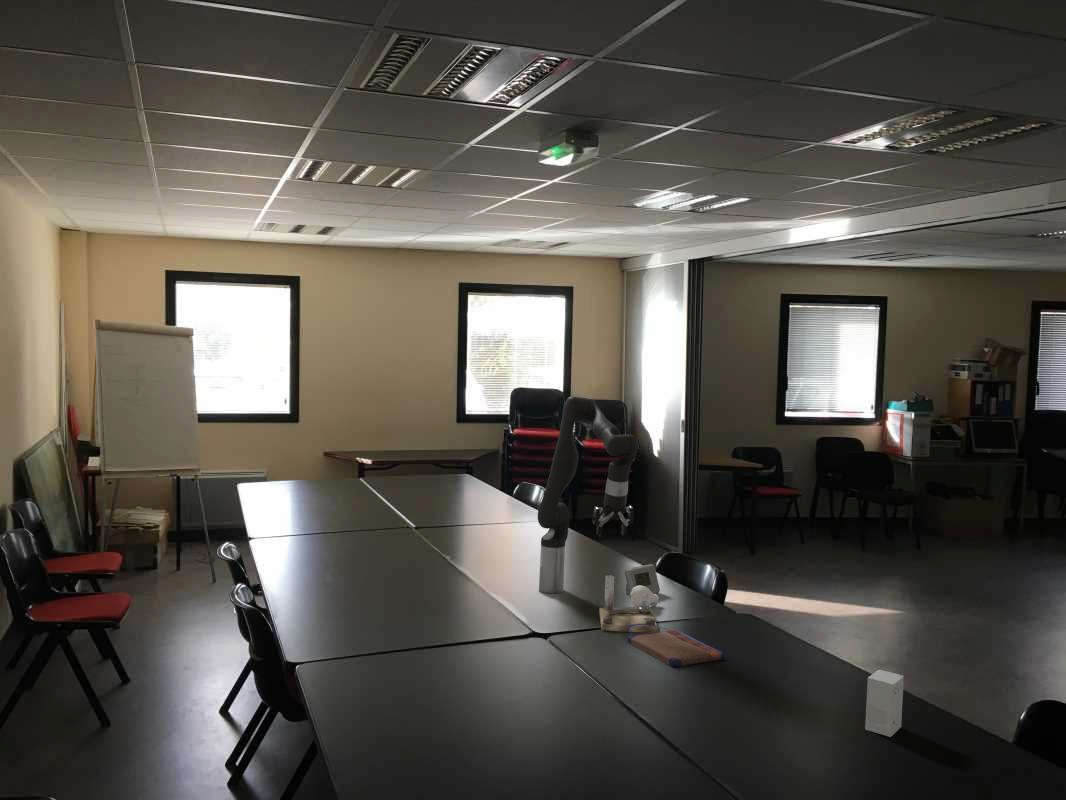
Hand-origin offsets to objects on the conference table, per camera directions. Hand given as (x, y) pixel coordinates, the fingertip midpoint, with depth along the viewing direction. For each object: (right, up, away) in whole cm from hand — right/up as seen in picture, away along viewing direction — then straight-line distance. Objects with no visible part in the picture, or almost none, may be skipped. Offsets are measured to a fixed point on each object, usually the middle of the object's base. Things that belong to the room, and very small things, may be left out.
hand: (611, 535), depth 293 cm
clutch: (+16, -31, -31) cm, 46 cm away
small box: (+59, -34, -84) cm, 108 cm away
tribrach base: (+5, -28, -7) cm, 30 cm away
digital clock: (+14, -27, +27) cm, 41 cm away
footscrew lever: (+5, -25, -3) cm, 26 cm away
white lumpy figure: (+13, -28, +11) cm, 33 cm away
